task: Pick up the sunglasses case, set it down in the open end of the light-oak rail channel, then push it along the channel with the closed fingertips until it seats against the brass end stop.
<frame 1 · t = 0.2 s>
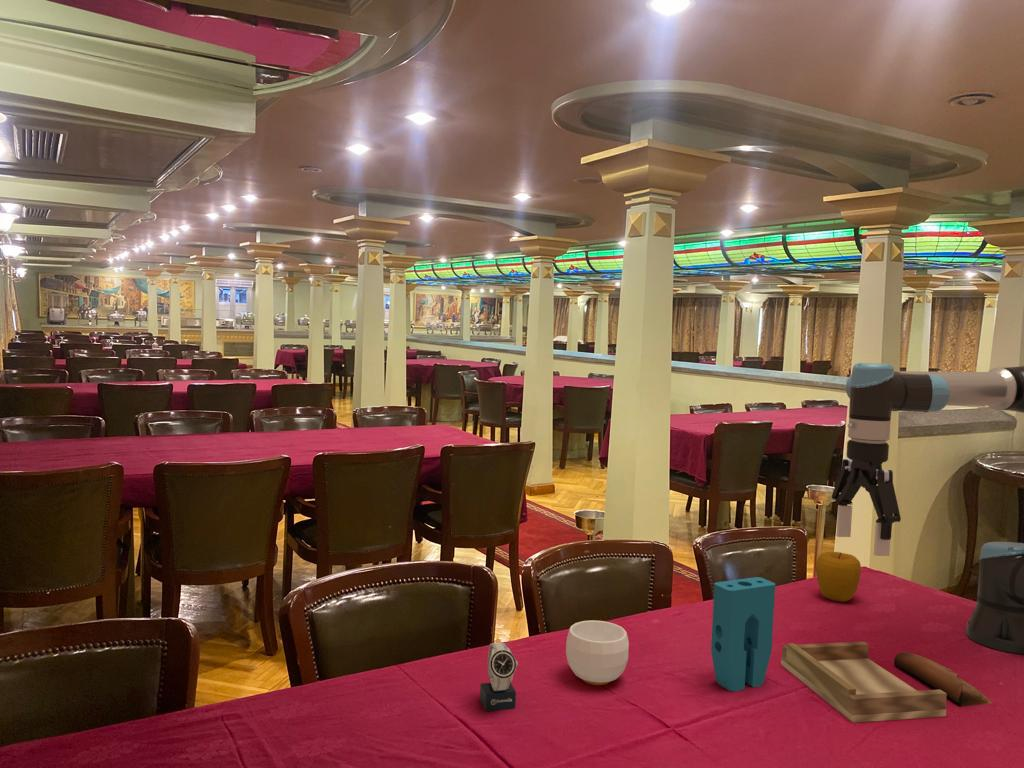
hand: (861, 545, 151), 27 cm above the table, fingers open, 13 cm apart
apple: (836, 600, 200), on the table
cup: (596, 679, 148), on the table
block: (739, 683, 148), on the table
sunglasses case: (941, 687, 151), on the table
rail board: (857, 688, 147), on the table
watch: (497, 705, 136), on the table
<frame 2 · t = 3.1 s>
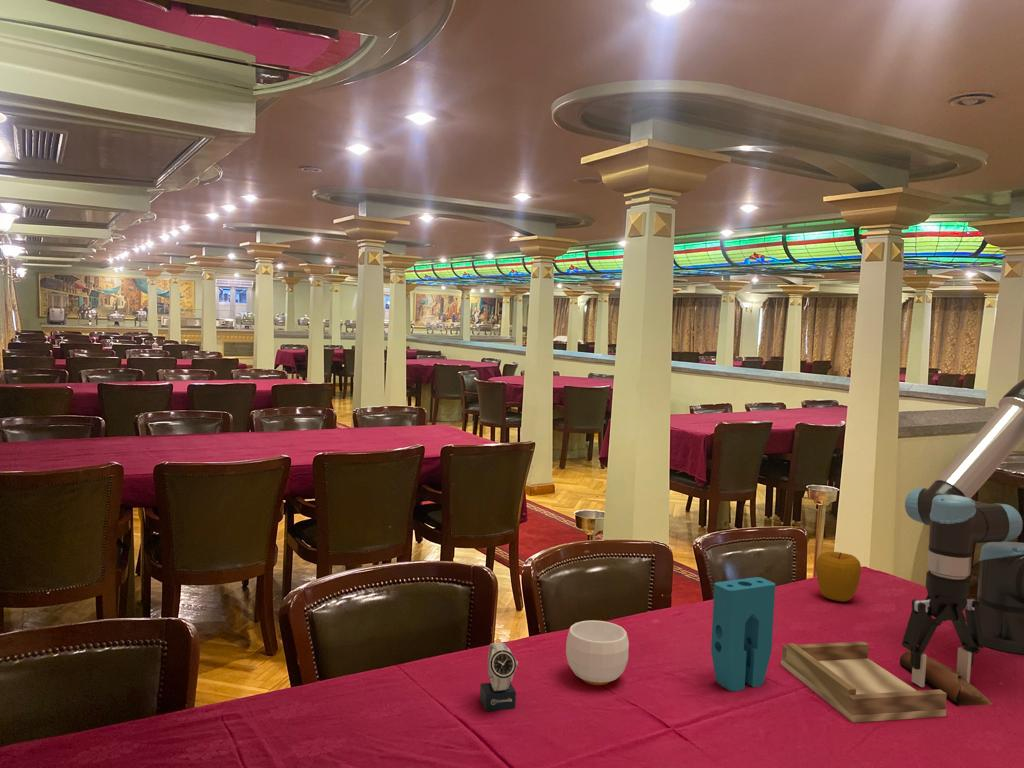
hand: (940, 682, 151), 0 cm above the table, fingers open, 9 cm apart
sunglasses case: (944, 687, 151), on the table, touching gripper
everything else where it was.
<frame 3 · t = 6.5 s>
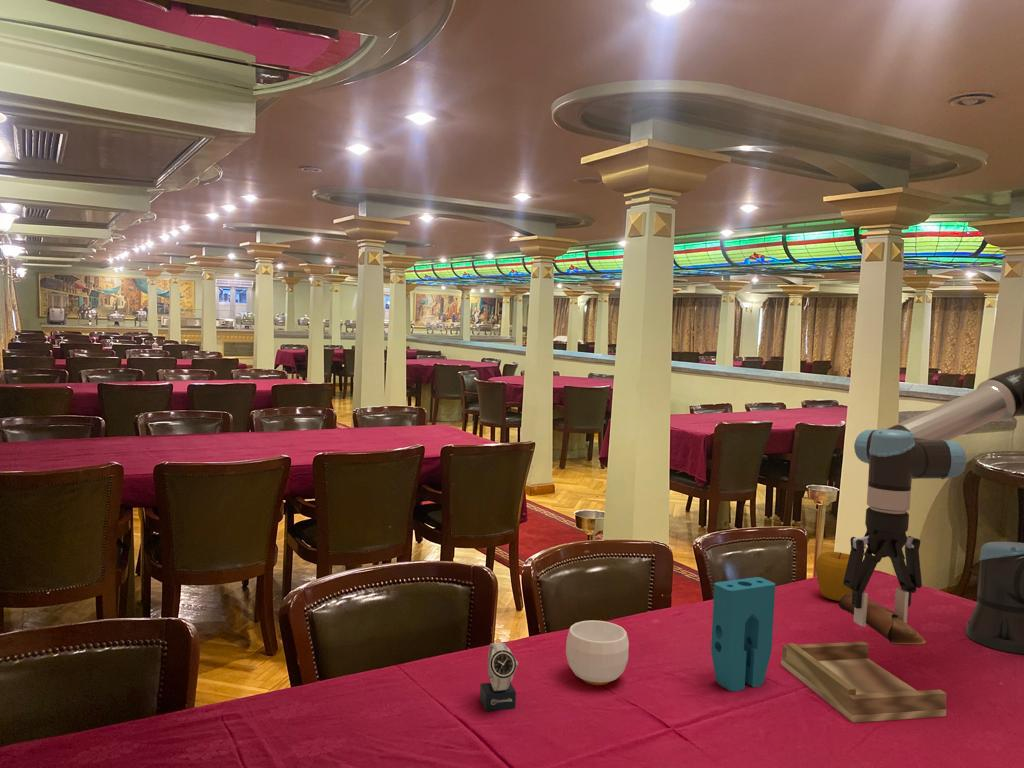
hand: (879, 623, 147), 13 cm above the table, fingers closed on sunglasses case, 8 cm apart
sunglasses case: (880, 627, 147), point 12 cm above the table, touching gripper
everything else where it was.
when the fingers open (2 cm above the table, at t = 8.7 s): sunglasses case stays where it is, resting on rail board.
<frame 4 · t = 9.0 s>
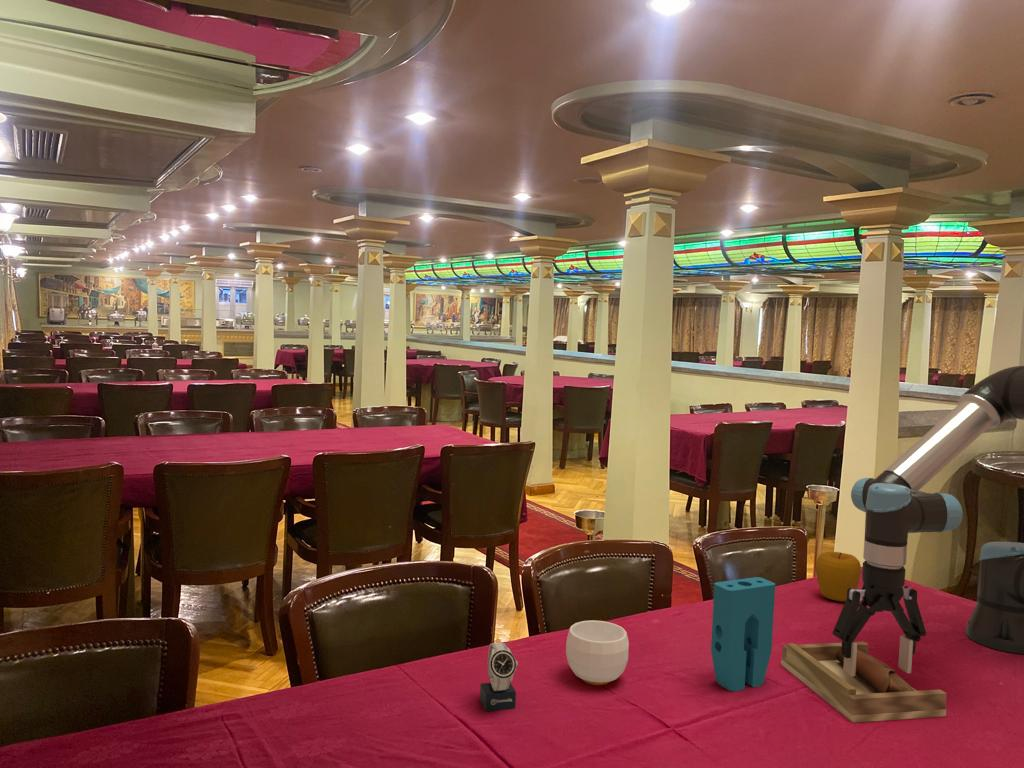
hand: (877, 671, 148), 3 cm above the table, fingers open, 11 cm apart
sunglasses case: (877, 683, 148), point 1 cm above the table, touching rail board
everything else where it was.
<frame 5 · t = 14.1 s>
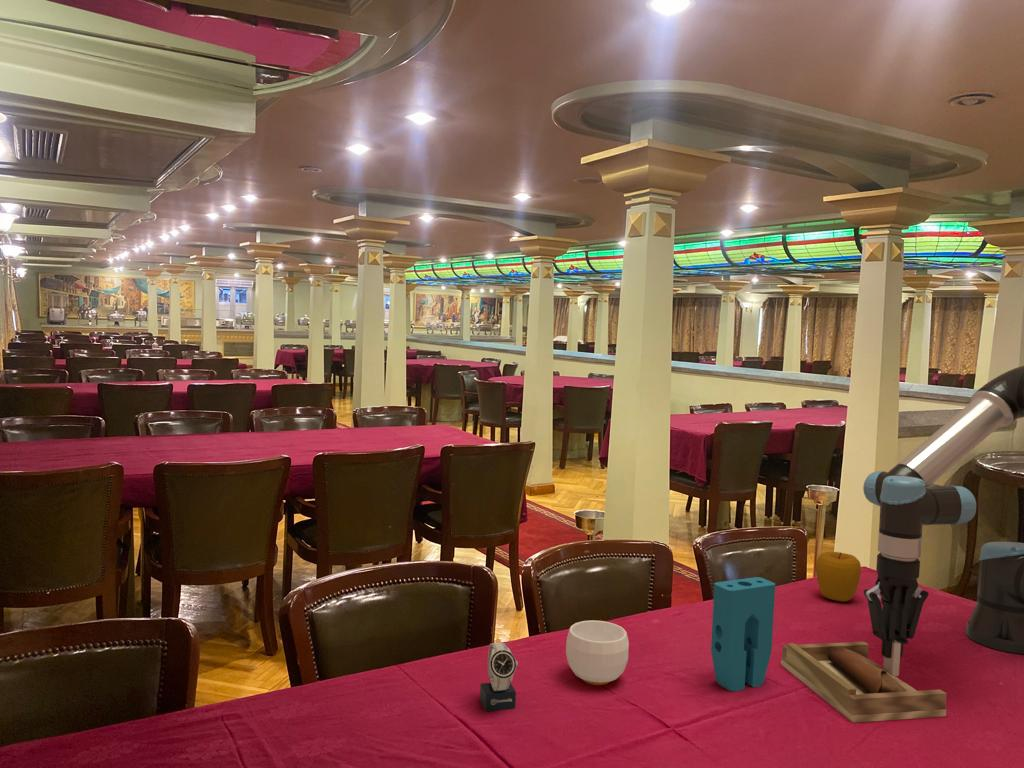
hand: (890, 672, 149), 3 cm above the table, fingers closed
sunglasses case: (869, 683, 148), point 1 cm above the table, touching gripper, rail board
everything else where it was.
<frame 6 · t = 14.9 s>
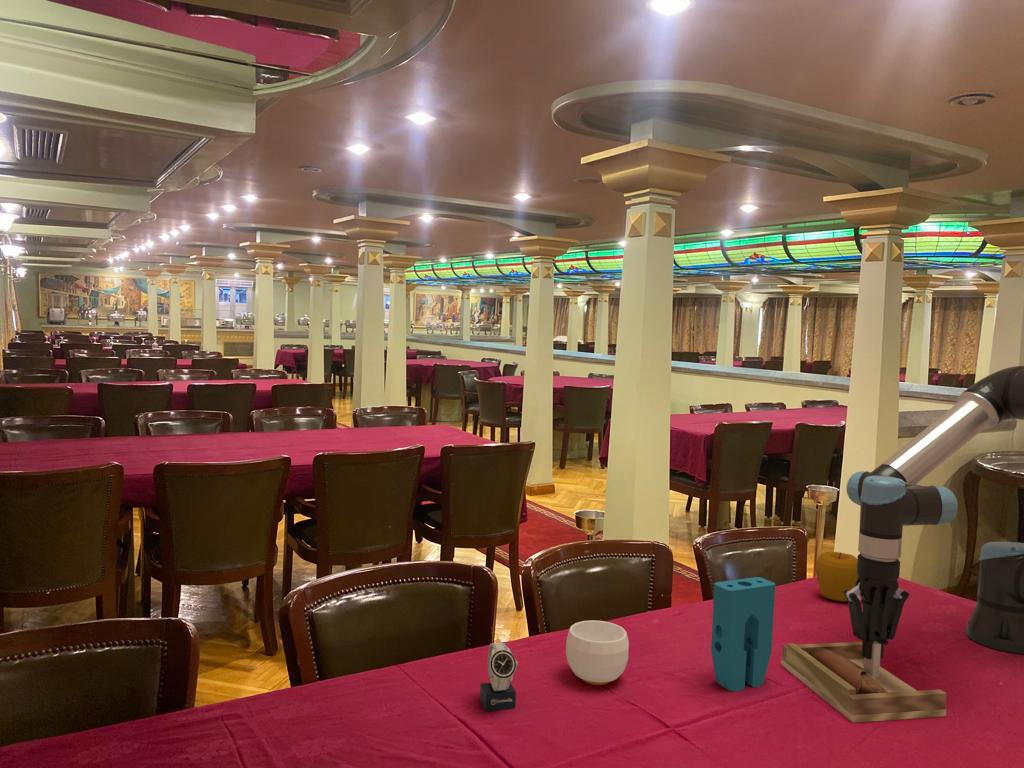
hand: (871, 673, 148), 3 cm above the table, fingers closed
sunglasses case: (849, 683, 147), point 1 cm above the table, touching gripper, rail board
everything else where it was.
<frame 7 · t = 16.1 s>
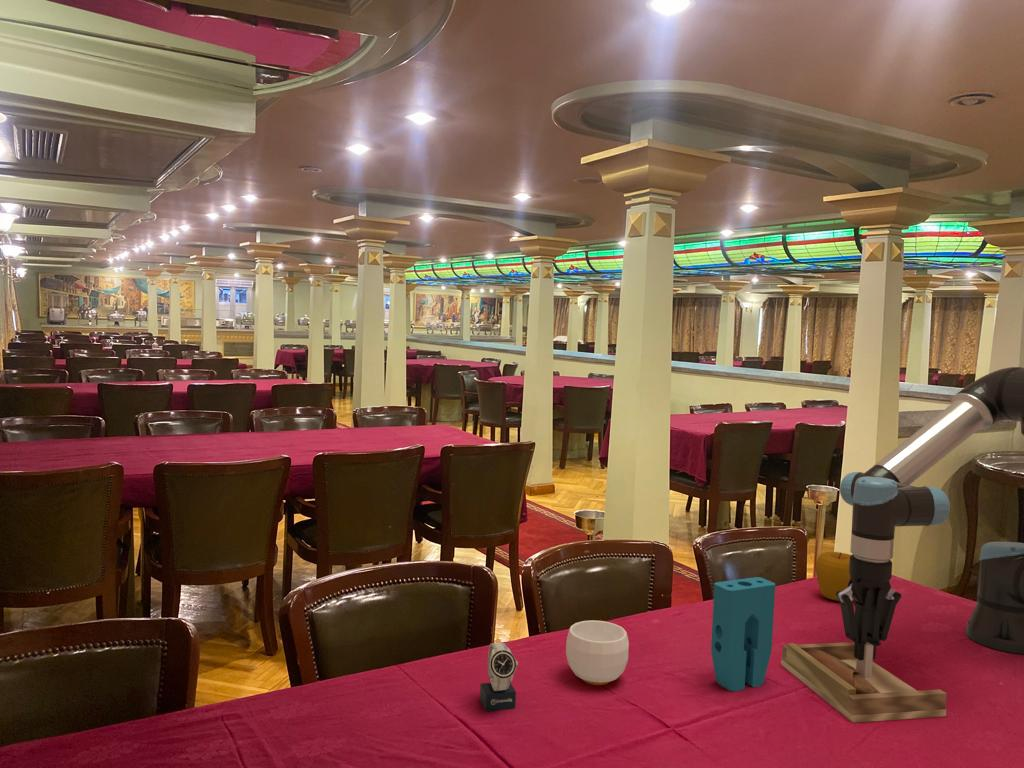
hand: (863, 674, 148), 3 cm above the table, fingers closed
sunglasses case: (841, 684, 147), point 1 cm above the table, touching rail board
everything else where it was.
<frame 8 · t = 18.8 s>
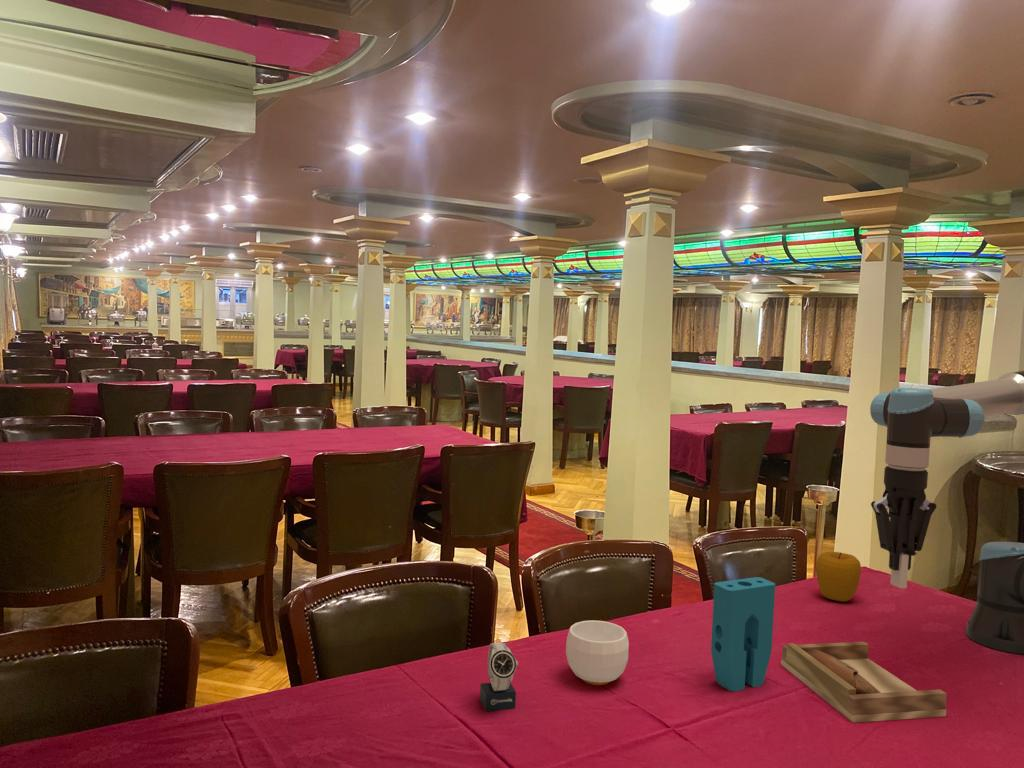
hand: (898, 585, 148), 20 cm above the table, fingers closed
nothing on the table moved.
at the end: sunglasses case inside the target area (0.9 cm from its centre), point 1.0 cm above the table; the gripper is holding nothing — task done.
